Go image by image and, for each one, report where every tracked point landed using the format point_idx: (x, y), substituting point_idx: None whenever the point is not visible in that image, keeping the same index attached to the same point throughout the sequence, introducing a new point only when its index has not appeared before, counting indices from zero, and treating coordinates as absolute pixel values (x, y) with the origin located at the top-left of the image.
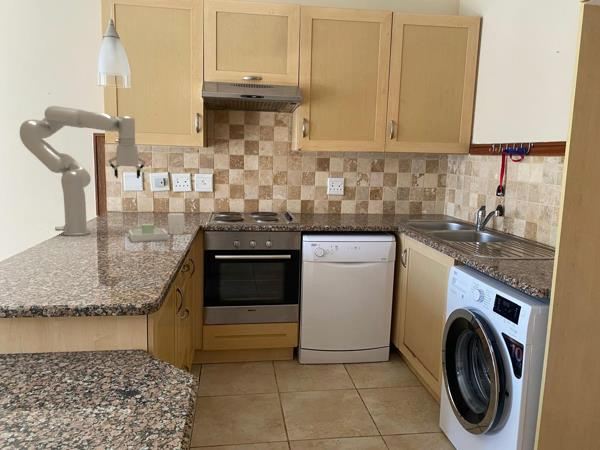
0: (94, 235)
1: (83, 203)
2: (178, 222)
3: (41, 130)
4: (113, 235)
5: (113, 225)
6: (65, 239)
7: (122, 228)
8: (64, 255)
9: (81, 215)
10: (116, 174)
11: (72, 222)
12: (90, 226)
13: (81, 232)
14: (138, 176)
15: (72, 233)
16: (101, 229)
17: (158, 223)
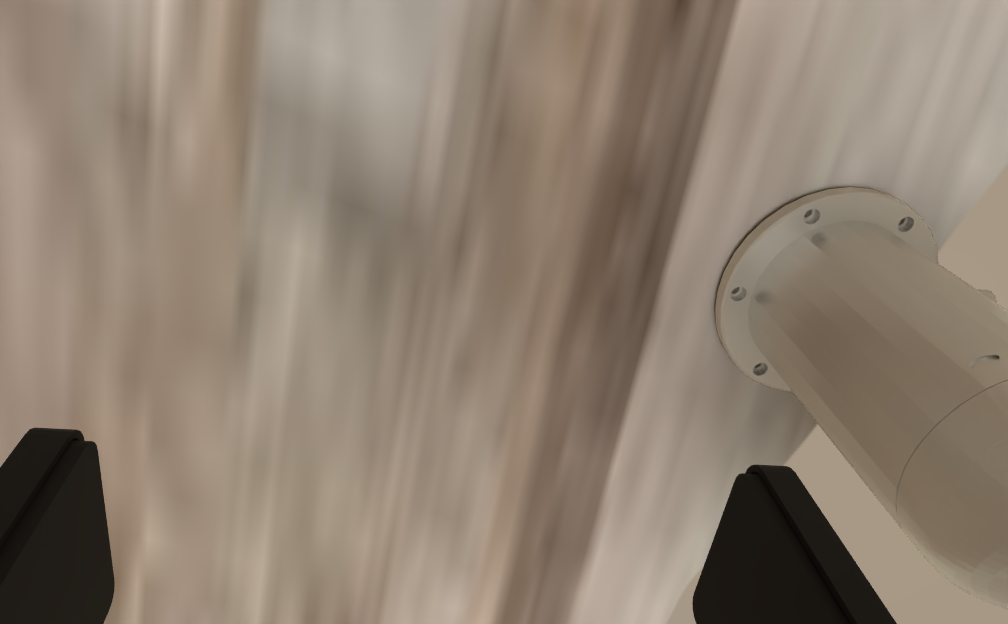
0: (718, 163)
1: (949, 402)
2: None
3: None
4: (568, 90)
5: (457, 608)
6: (996, 31)
7: (416, 457)
8: None
9: (899, 304)
10: (834, 539)
11: (942, 268)
12: (620, 603)
13: (816, 230)
14: (17, 461)
15: (890, 212)
16: (583, 457)
17: None
